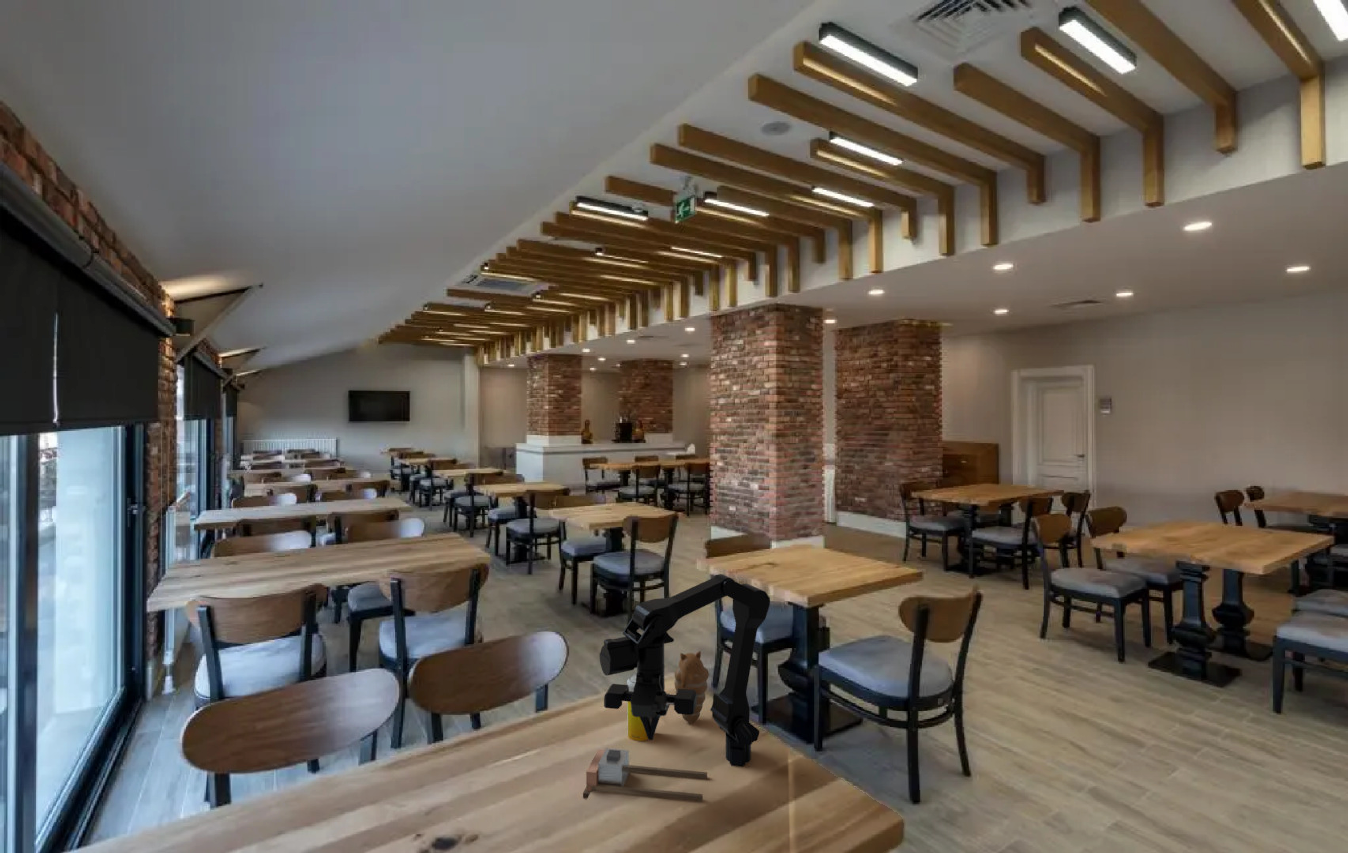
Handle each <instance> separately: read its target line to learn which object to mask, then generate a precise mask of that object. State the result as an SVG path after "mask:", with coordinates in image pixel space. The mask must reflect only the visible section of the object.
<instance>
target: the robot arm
mask: <svg viewBox="0 0 1348 853" xmlns="http://www.w3.org/2000/svg"><path fill="white" fill-rule="evenodd" d="M725 597H729V599H732V613H733V617H734V621H735V626H734V627H735V628H734V632H733V639H732V645H731V650H730V657H729V662H728V666H727V671H726V672H727V674H726V678H725V685H724V686H723V689H722V690H721V691H720V693H713V696H712V704H711V708H709V709H710V712H711V713H712V714H711V716H712V719H713V721H714V723H715V724H716V725H718V728H719V729H720V730H722V731H723V732H724V733H725V759H726V760H727V761H728V762H729V764H730V766H731V767H738V768H739V767H742V768H743V767H744V766H746V764H747V763H749V762H750V761H751V759H752V745H753V743H755V742H757V741H758V738H759V735H760V730H759V729H758V728H757V727H755V725H753V724H752V723H751V722H750V720H751V719H750V715H751V714H750V713H751V708H750V703H749V699H748V696H747V695H748V694H747V690H748V685H749V680H750V679H749V678H750V672H751V668H752V662H753V656H754V650H755V645H756V638H757V633H758V630H759V628H760V626H761V625H762V624H763V623H764V622H765V620H766V619H767V615H768V612H769V608H770V605H771V597H770V596H769V595H768V593H767V592H766V591H765V590H763V589H760V588H758V587H756V586H754V585H751V584H749V583H739V582H737V581H735V580H734V579H733V578H732V577H730V576H727V575H725V574H722V573H719V574H716V575H714V576H713V577H711V578H710V579H707V580H706V581H704V582H701V583H699V584H697V585H695V586H693V587H690V588H688V589H686V590H683V591H681V592H679V593H677V594H675V595H673V596H668V597H663V598H661V597H660V598H653V599H649V600H645V601H642V602H640V603H639V604H638V603H637V605H636V606H635V609H634V611H633V614H632V617H631V618H630V620H629V621H628V623H627V625H626V627H625V628H624V630H623V631H622V635H623V636H622V637H617V638H607V639H606V638H605V639H604V640H603V645H602V647H601V649H600V652H599V663H600V664H599V665H600V667H601V670H602V673H603V674H604V676H612V675H617V674H621V673H625V672H626V673H627V672H631V671H634V669H636V673H637V674H636V683H635V686H634V691H633V692H631V691H629V687H628V685H627V684H623V683H622V684H619V683H612V684H610V686H609V687H608V689H607V690H606V691H605V694H604V696H603V697H604V698H603V706H604V708H605V709H612V710H613V709H614V710H619V709H620V708H621V707H622V706H623V702H627V701H629V702H631V709H632V710H631V712H632V715H633V716H635V717H640V719H641V721H642V723H643V726H644V729H645V731H646V734H647V737H648V739H647V740H648V741H653V740H654V736H655V733H656V730H657V727H658V723H659V720H660V718H661V717H665V716H666V715H667V714H668V711H669V708H670V706H673V710H674V711H675V713H676V714H678V715H682V714H685V715H692V714H694V711H695V707H696V704H697V693H696V692H695V690H690V689H678V691H677V694H676V693H675V694H670V693H668V692H666V691H665V690H666V689H665V688H666V687H665V686H666V685H665V668H666V666H665V644H670V643H674V641H675V639H674V637H672V636H671V635H670V634H669V633H668V631H669V630H671V629H672V628H674V626H675V625H676V624H677V622H678V621H679V620H680V619H682V618H684V617H685V616H687V615H689V614H691V613H693V612H696V611H699V610H701V609H702V608H704V607H706V606H708V605H711V604H713V603H715V602H717V601H719V600H721V599H723V598H725ZM638 630H641V631H642V634H641V633H640V632H639V631H638ZM651 718H652V721H651Z"/></svg>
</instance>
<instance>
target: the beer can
mask: <svg viewBox="0 0 1348 853" xmlns="http://www.w3.org/2000/svg"><path fill="white" fill-rule="evenodd" d="M636 674H637V672H635V673H631V674H630V675H629V676H628V678H627V681H626V685H628V687H629V691H631V692H633V691H634V686H635V683H636ZM626 710H627V711H626V716H627V718H626V720H627V722H626V723H627V725H626V726H627V727H626V729H627V730H626V731H627V732H626V733H627V738H628V739H630V740H632V741H635V742H636V741H637V742H643V741H647V740H648V737H647V734H646V731H645V729H644V726H643V723H642V721H641V719H640V717H635V716H633V715H632V712H631V710H632V709H631V702H629V701H626ZM651 721H652V718H651Z"/></svg>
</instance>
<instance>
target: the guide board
mask: <svg viewBox="0 0 1348 853" xmlns="http://www.w3.org/2000/svg"><path fill="white" fill-rule="evenodd" d="M605 750H606V749H604V750H603V749H597V751H596V753H595V755H594V756H593V758H592V761H591V762H590V764H589V766H588V768H587V770H586V775H585V776H586V780H585V781H586V782H585V783H586V785H585V789H584V790H583V793H582V798H583V799H588V798H589V796H590V794H591V792H596V793H597V792H598V793H608V794H617V795H626V796H628V795H629V796H639V797H648V798H659V799H668V800H677V801H687V802H699V803H703V800H704V798H703V796H704V794H703V793H701V794H700V793H696V792H695V793H693V792H692V793H691V792H684V791H683V792H681V791H674V790H673V791H672V790H663V789H652V788H643V787H642V788H641V787H634V786H632V787H631V786H625V785H624V786H614V785H604V784H598V763H599V761H600V759H601V757H602V755H603V754H604V752H605ZM629 773H633V774H644V775H654V776H663V777H664V776H665V777H675V778H684V779H685V778H687V779H696V780H707V779H708V772H707V771H706V772H705V771H697V770H687V769H686V770H685V769H675V768H664V767H652V766H644V765H630V764H629Z"/></svg>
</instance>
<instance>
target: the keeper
mask: <svg viewBox="0 0 1348 853" xmlns="http://www.w3.org/2000/svg"><path fill="white" fill-rule="evenodd" d="M604 750H605V752H604V754H603V755H602V757H601V759H600V761H599V763H598V784H604V785H614V786H624V787H625V783H626V782H627V779H628V776H629V773H630V772H629V765H630V761H629V755H630V754H629V752H630V751H629V749H628V750H627V749H619V748H605V749H604Z"/></svg>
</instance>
